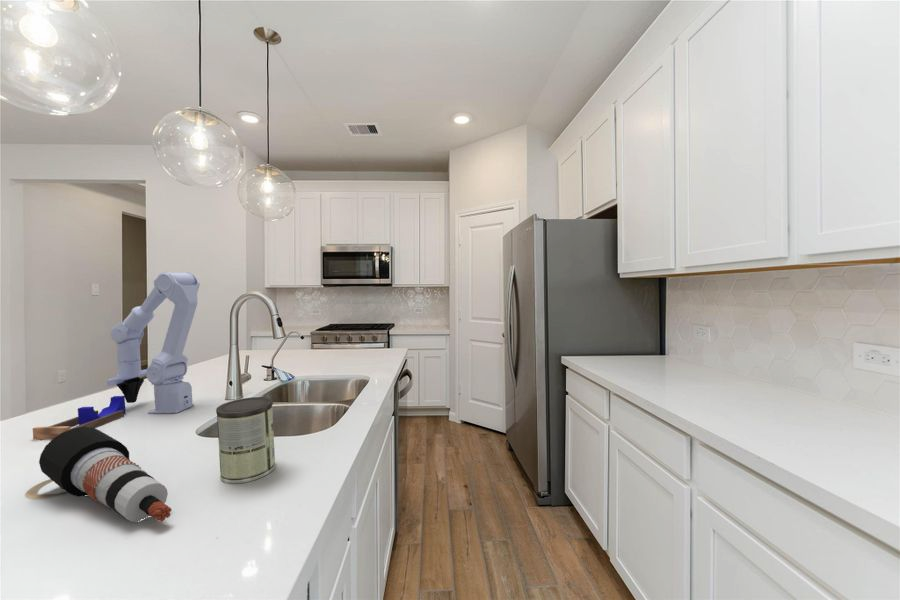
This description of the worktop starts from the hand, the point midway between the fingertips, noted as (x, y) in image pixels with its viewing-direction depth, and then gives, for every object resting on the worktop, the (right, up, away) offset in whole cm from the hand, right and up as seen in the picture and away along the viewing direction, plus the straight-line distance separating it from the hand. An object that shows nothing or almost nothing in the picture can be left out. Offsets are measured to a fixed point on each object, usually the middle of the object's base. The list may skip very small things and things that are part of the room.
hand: (131, 402), depth 125 cm
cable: (+43, -4, -56) cm, 71 cm away
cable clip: (+1, -3, -12) cm, 12 cm away
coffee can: (+62, -2, -46) cm, 77 cm away
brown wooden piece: (0, -3, -16) cm, 16 cm away
